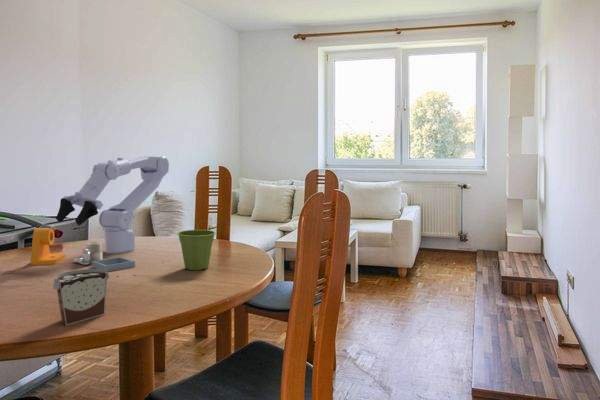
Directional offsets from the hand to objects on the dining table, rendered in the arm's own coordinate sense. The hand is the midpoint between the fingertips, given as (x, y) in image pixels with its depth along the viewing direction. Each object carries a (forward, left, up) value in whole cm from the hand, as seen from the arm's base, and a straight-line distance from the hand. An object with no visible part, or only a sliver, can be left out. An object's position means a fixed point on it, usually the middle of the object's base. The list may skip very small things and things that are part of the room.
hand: (67, 221), depth 165 cm
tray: (-7, +16, -14) cm, 22 cm away
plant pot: (-27, +31, -15) cm, 43 cm away
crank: (-2, +5, -13) cm, 14 cm away
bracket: (+4, -7, -15) cm, 17 cm away
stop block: (-6, +5, -13) cm, 15 cm away
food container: (+19, +53, -15) cm, 58 cm away
